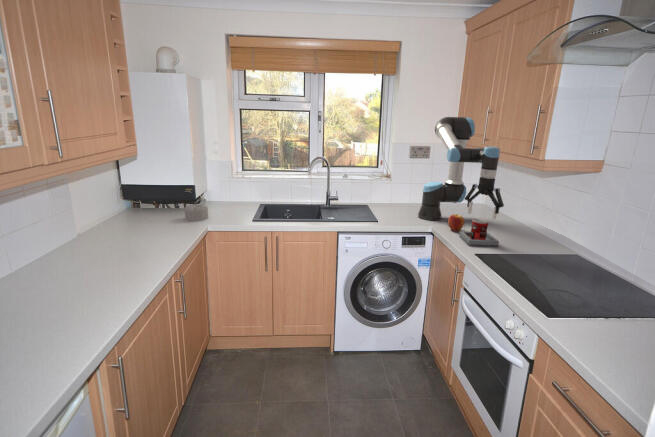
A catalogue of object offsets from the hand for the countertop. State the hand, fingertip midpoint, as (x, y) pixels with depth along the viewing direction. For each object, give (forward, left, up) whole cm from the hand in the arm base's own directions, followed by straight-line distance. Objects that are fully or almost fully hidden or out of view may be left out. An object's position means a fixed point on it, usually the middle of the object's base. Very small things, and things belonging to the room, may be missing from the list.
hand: (481, 216), depth 201 cm
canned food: (0, 0, -14) cm, 14 cm away
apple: (-19, -7, -14) cm, 24 cm away
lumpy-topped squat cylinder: (-22, -163, -14) cm, 165 cm away
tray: (0, 0, -14) cm, 14 cm away
